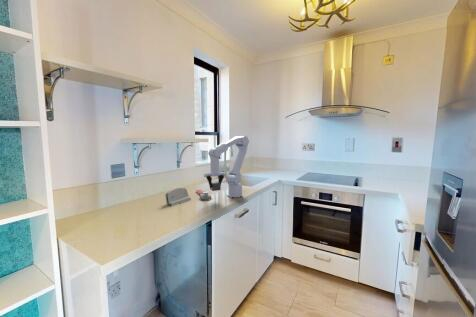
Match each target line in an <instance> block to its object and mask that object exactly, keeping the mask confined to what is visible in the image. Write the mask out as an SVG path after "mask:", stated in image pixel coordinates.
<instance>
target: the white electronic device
mask: <svg viewBox="0 0 476 317" xmlns="http://www.w3.org/2000/svg"><path fill="white" fill-rule="evenodd" d="M164 197H165V203H166V205H167V206H168V205H170V206H171V207H173V206H177V205H180V204H183V203H187V202H189V201H191V200H192V198H191V196H190V195H189V193H188V190H187V188H184V187H177V188H174V189H172V190H169V191H168V192H166V193H165V196H164Z"/></svg>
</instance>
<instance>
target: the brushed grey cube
mask: <svg viewBox="0 0 476 317" xmlns="http://www.w3.org/2000/svg"><path fill="white" fill-rule="evenodd" d="M221 188H222V183H220V182H219V180H214V181H213V180H212V188H210V187H209V190H210V191H211V192H215V191H216V192H217V191H221Z"/></svg>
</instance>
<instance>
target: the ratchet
mask: <svg viewBox="0 0 476 317" xmlns="http://www.w3.org/2000/svg"><path fill="white" fill-rule="evenodd" d="M195 193H197V195H198V196H199V200H200V201H210V200H212V195H210V194H209V191H203V190H201V189H197V190H195ZM209 199H210V200H209Z"/></svg>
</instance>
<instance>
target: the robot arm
mask: <svg viewBox="0 0 476 317" xmlns="http://www.w3.org/2000/svg"><path fill="white" fill-rule="evenodd" d="M249 143H250V140H249V137H248V136H247V135H237V136H234V137H233V138H231V139H229V140H228V141H226V143H225V142H221V143H220V144H218V145H216V146H215V147H212V148H210V149H209V151H208V153H207V154H208V156H209V160H210V172H208V173H203V177H204V178H206V180H207V182H208V186H209V189H210V188H212V181H213V178H212V177H217V178H218V180H217V181H219V182H220V183H221V184H222V183H223V180H224V177H225V176H226V177H225V180H226V182H227V184H228V185H227V187H228V194H226V196H227V197H228V196H229V197H228V198H229V199H233V198H232V197H234V198H241V197H240V196H242V197H243V186H242V184H241V181H242V174H241V173H240V171H241V169H242V166H243V163H244V161H245V156H246V154H247V151H248V146H249ZM234 145H235V146H236V148H237V149H238V153H237V155H236V157H235V158H236V159H235V161H234V164H233V167H232V168H231V169H232V170H229V172H228V174H227V173H226V172H225V171H224V172H223V171H221V172H220V157H221V155H222V154H223V153H225V152H226V151H228V149H229V148H230V147H232V146H234Z"/></svg>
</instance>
